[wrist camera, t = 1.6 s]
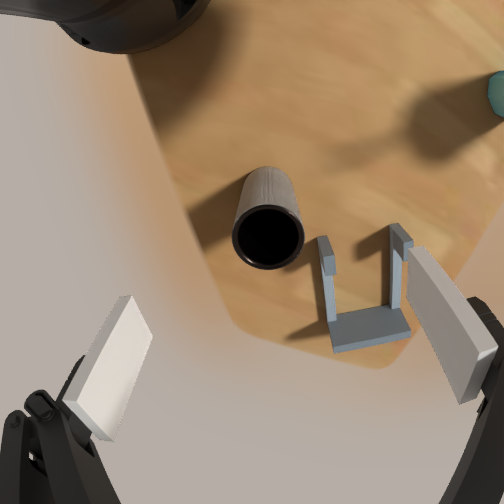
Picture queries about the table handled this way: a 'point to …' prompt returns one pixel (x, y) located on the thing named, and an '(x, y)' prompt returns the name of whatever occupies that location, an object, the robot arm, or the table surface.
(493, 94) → the cup
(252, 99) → the table surface
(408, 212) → the table surface
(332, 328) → the endcap rail
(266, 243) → the grey tube
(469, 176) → the table surface
